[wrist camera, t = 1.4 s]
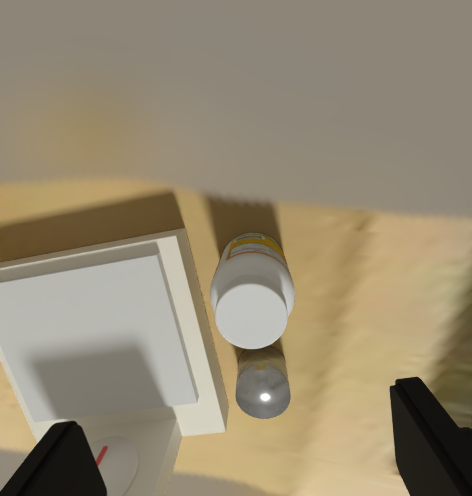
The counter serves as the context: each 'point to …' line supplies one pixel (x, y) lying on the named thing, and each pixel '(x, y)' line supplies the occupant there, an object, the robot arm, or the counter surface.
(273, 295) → the supplement bottle
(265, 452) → the counter surface
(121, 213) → the counter surface
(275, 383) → the metal cylinder weight
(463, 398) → the counter surface
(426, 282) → the counter surface
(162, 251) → the scale
